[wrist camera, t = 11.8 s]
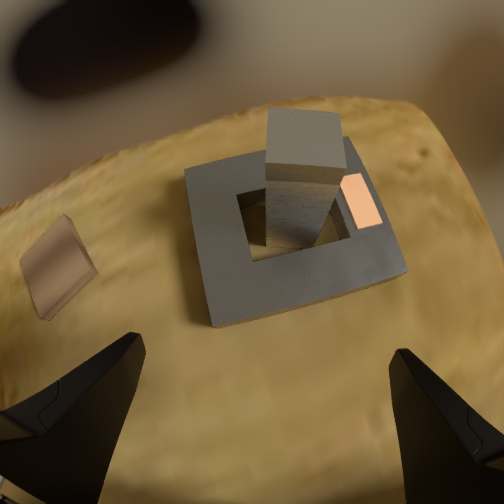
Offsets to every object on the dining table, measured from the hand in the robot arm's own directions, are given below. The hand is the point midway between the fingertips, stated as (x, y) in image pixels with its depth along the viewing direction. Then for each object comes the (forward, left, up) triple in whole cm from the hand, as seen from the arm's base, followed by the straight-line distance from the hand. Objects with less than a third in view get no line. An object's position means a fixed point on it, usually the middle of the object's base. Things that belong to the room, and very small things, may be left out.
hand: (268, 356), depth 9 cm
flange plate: (+10, -5, -14) cm, 17 cm away
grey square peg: (+10, -5, -14) cm, 17 cm away
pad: (+12, +19, -14) cm, 26 cm away
